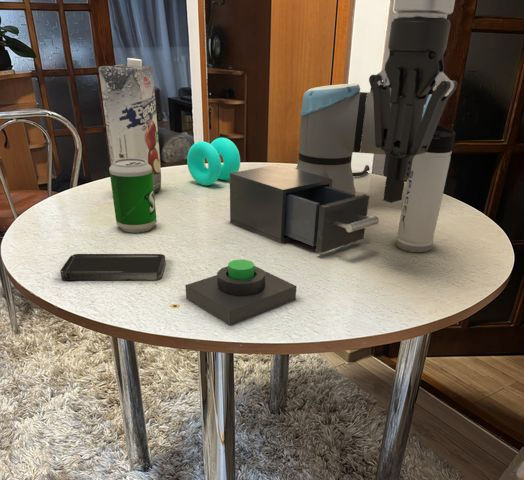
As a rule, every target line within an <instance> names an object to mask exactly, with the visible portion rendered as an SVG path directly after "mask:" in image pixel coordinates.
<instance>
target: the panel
mask: <svg viewBox="0 0 524 480" xmlns="http://www.w3.org/2000/svg"><path fill="white" fill-rule="evenodd" d="M185 299H186V300H187V301H189V302H190V303H192V304H194V305H196V306H197V307H199V308H200V309H202V310H203V311H205V312H206V313H209V314H210V315H211V316H213V317H215V318H217V319H218V320H220V321H221V322H223V323H225V324H226V325H228V326H233V325H236V324H238V323H241V322H243V321H246V320H248V319H251V318H253V317H256V316H258V315H260V314H261V315H262V314H264V313H266V312H268V311H271V310H273V309H277V308H278V307H280V306H284V305H287V304H288V303H291V302H293V301H296V299H297V285H295V284H293V283H291V282H289V281H287V280H284V279H283V278H280V277H279V276H276V275H274V274H272V273H270V272H268V271H266V270H264V269H262V268H260V267H258V266H256V265H254V278H251V279H248V280H236V279H231V278H229V277H228V265H227V266H224V267H221V268H220V269H219V270H218V271H217V272H216V275H212V276H210V277H205V278H203V279H200V280H196V281H193V282H190V283H188V284H185Z"/></svg>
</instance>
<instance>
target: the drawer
mask: <svg viewBox="0 0 524 480" xmlns="http://www.w3.org/2000/svg"><path fill="white" fill-rule="evenodd" d="M369 202H370V195H369V194H364V193H363V194H360V195H356V197H355V194H352V193H349V192H345V191H342V190H338V189H335V188H331V187H328V186H324V185H322V186H318V187H314V188H309V189H305V190H300V191H296V192H292V193H287V194H286V206H285V226H284V235H285V236H288V237H290V238H293V239H295V240H296V241H298V242H300V243H304V244H306V245H308V246H311V247H315V252H317V253H319V254H323V253H326V252H329V251H332V250H335V249H338V248H341V247H344V246H346V245H349V244H352V243H355V242H359V241H362V240H364V239H365V232H366V228H369V227H372V226H374V225H377V224H379V221H380V218H379V217H378V216H377V215H372V216H369V215H368V210H369Z"/></svg>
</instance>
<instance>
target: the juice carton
mask: <svg viewBox="0 0 524 480" xmlns="http://www.w3.org/2000/svg"><path fill="white" fill-rule="evenodd" d="M126 62H127V63H126V64H125V63H124V64H123V63H119V64H115V65H102V66H99V67H98V75H99V80H100V81H99V83H100V89H101V91H100V92H101V97H102V99H101V100H102V105H103V114H104V121H105V129H106V136H107V137H106V138H107V145H108V152H109V160H110V166H111V165H112V164H113V162H114V161H116V160H119V159H126V158H137V159H143V160H146V161H147V163H148V164H149V165H150V166H151V167H152V174H153V185H154V194H156V193H158V192H160V190H161V189H162V167H161V156H160V155H161V153H160V143H159V130H158V118H157V105H156V103H157V102H156V91H155V82H154V72H153V66H152V65H149V64H148V65H145V64H143V60H142V59H140V58H133V57H127V59H126Z"/></svg>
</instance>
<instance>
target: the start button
mask: <svg viewBox="0 0 524 480" xmlns="http://www.w3.org/2000/svg"><path fill="white" fill-rule="evenodd" d="M227 266H228V277H229V278H231V279H236V280H248V279H251V278H254V266H255V263H254V262H253V261H251V260H248V259H241V258H239V259H233V260H231V261H229V262H228V264H227Z"/></svg>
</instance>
